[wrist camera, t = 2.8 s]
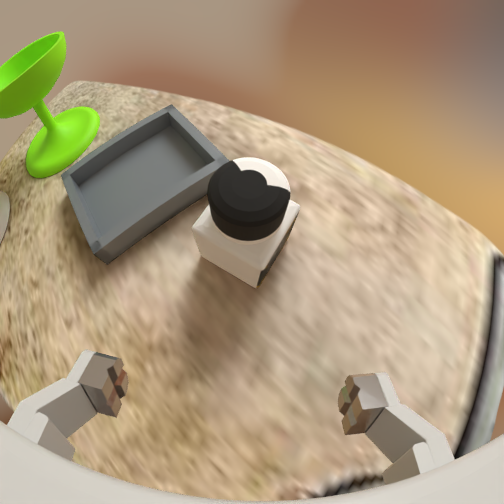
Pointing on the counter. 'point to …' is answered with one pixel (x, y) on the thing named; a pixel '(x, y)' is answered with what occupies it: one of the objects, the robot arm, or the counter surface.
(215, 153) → the parts tray
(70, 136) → the wineglass
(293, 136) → the counter surface
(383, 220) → the counter surface
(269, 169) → the medicine bottle
